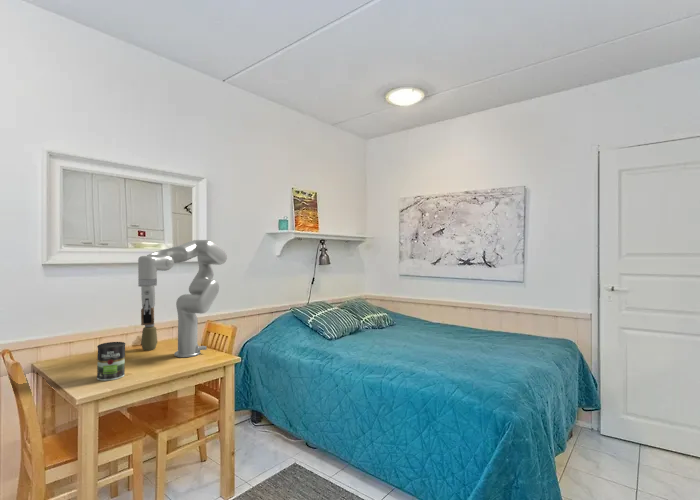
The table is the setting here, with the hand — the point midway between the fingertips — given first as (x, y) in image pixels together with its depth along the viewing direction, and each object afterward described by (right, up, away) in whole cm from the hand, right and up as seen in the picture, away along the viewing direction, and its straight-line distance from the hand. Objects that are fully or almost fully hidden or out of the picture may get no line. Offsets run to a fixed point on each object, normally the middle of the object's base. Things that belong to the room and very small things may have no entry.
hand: (147, 321), depth 177 cm
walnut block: (0, -1, 0) cm, 1 cm away
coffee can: (-10, -22, -11) cm, 27 cm away
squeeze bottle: (-17, -22, +34) cm, 44 cm away
